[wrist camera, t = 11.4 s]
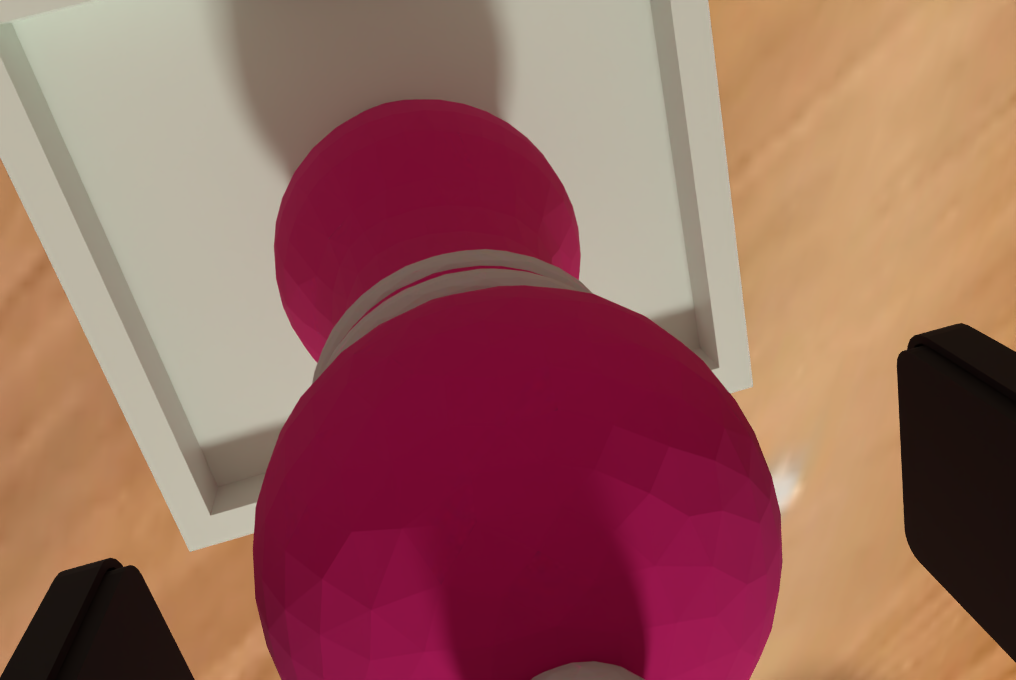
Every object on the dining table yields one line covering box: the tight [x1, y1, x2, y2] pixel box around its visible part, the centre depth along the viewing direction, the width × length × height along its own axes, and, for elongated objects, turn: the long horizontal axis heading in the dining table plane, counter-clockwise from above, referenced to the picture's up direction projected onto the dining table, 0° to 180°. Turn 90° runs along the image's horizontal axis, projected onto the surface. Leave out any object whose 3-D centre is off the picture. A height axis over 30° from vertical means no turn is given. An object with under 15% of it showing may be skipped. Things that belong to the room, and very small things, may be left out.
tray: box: [0, 0, 753, 552], centre depth 24 cm, size 18×16×2 cm
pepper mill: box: [253, 99, 782, 680], centre depth 15 cm, size 7×7×20 cm
